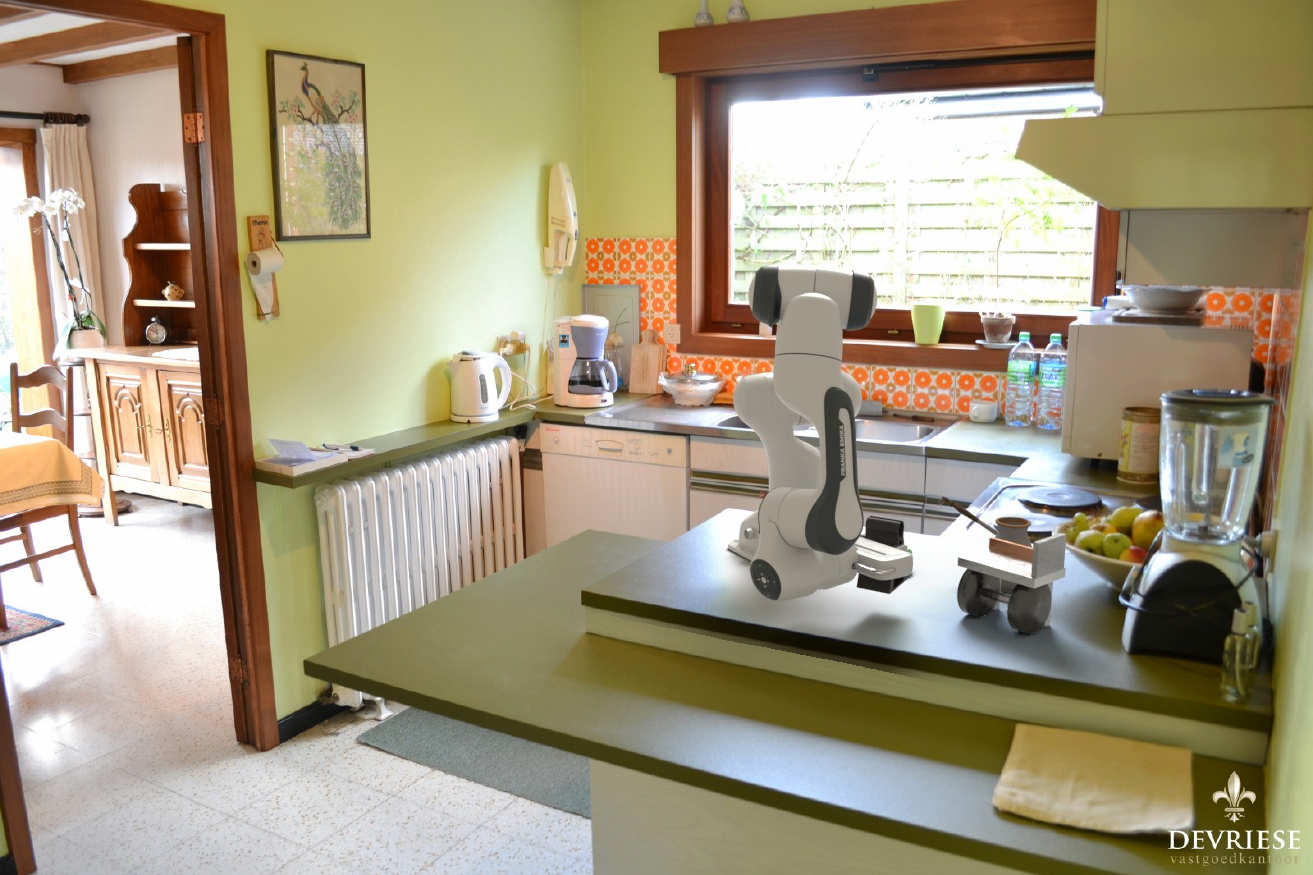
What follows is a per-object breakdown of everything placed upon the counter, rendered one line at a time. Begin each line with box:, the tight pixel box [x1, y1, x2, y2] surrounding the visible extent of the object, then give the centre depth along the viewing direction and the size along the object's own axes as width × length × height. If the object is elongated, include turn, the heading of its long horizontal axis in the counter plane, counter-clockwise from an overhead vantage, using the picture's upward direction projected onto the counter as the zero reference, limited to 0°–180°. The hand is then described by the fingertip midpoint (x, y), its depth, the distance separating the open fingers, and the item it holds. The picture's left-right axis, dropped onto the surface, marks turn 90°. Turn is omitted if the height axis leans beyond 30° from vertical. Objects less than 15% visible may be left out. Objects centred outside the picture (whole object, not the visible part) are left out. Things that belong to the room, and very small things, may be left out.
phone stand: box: [856, 515, 908, 595], centre depth 179 cm, size 9×6×12 cm, turn 146°
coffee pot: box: [937, 496, 1033, 594], centre depth 196 cm, size 21×12×15 cm, turn 44°
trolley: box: [956, 532, 1067, 635], centre depth 175 cm, size 15×10×17 cm
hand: (887, 543), depth 179 cm, fingers closed on phone stand, 6 cm apart
